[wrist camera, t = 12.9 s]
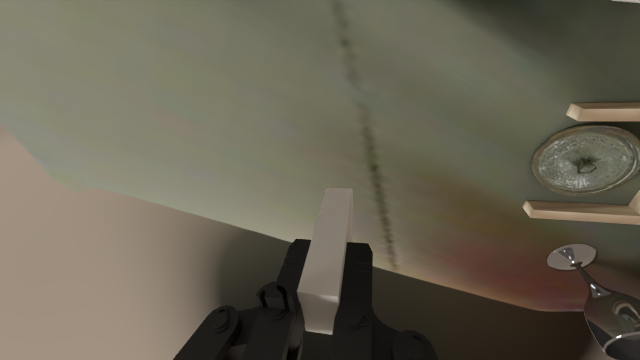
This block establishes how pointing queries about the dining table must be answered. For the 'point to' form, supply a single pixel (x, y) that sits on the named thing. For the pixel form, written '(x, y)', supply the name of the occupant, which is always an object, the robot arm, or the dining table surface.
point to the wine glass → (603, 305)
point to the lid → (587, 160)
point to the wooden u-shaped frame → (631, 214)
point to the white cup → (635, 0)
